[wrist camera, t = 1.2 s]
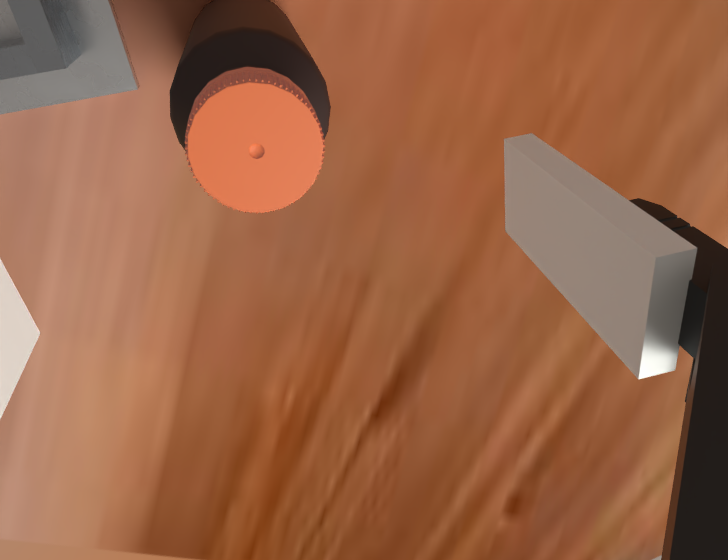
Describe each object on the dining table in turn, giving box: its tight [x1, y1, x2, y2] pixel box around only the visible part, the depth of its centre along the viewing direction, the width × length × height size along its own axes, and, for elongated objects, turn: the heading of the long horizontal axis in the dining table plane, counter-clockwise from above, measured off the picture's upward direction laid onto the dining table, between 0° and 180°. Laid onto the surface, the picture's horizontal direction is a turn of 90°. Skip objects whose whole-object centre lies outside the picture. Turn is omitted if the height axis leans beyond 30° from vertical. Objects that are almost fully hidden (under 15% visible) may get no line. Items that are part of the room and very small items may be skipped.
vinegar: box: [170, 0, 331, 214], centre depth 29 cm, size 7×7×20 cm
